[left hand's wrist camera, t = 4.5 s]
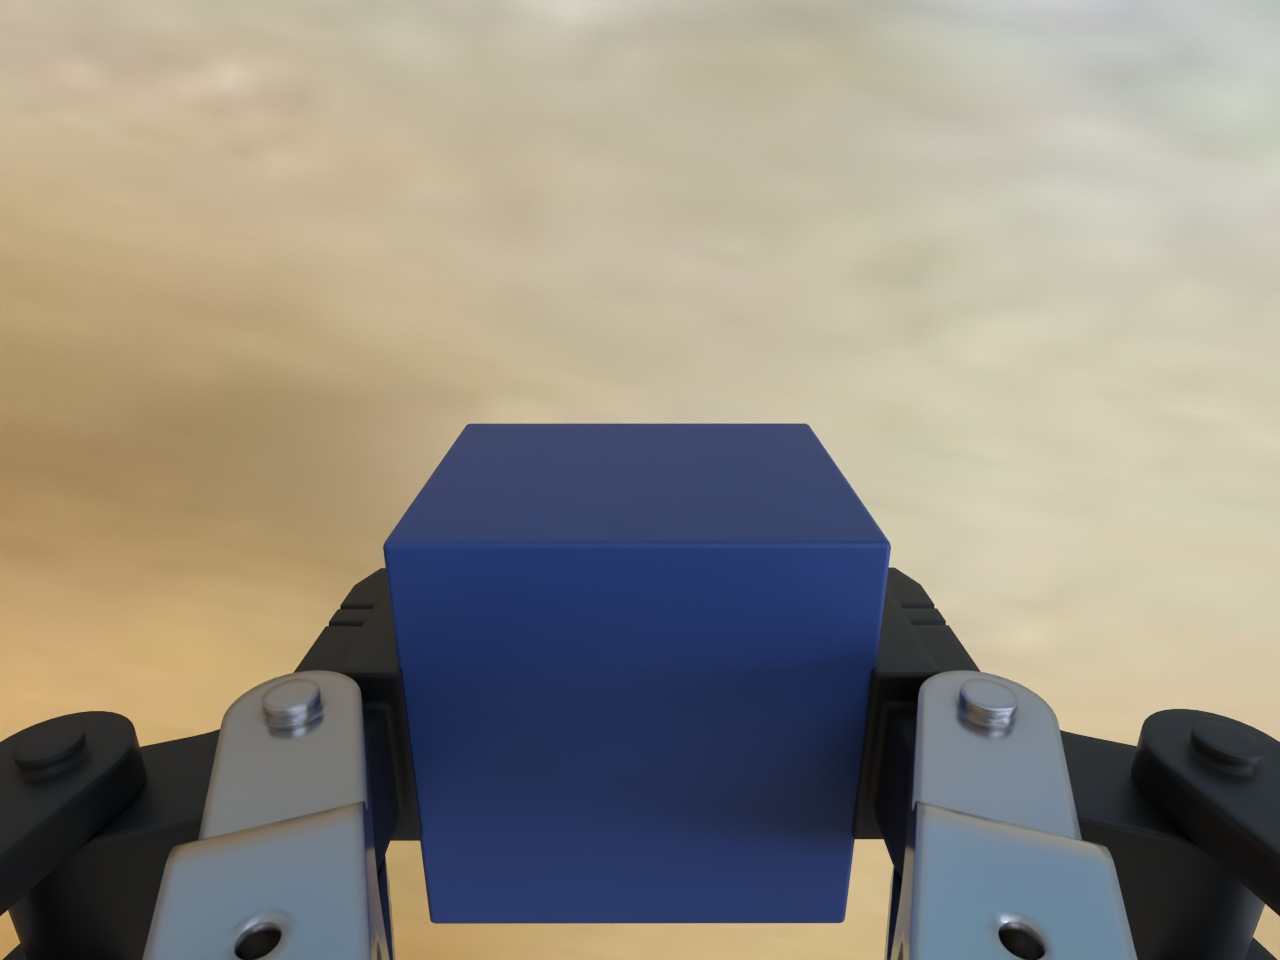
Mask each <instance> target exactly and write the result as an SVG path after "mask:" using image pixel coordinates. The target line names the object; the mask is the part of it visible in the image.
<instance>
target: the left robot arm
mask: <svg viewBox="0 0 1280 960" xmlns="http://www.w3.org/2000/svg"><path fill="white" fill-rule="evenodd" d="M422 836H423V834H422V826H421V818H420V810H419V802H418V794H417V786H416V778H415V770H414V762H413V754H412V746H411V738H410V730H409V722H408V714H407V706H406V698H405V691H404V683H403V675H402V669H401V668H399V667H398V660H397V652H396V644H395V636H394V628H393V620H392V613H391V605H390V597H389V589H388V581H387V573H386V568H381V569H379V570H378V571H376V572H374V573H373V574H371V575H370V576H368V577H367V578H365V579H364V580H362V581H361V582H359V583H358V584H356V585H355V586H354V587H353V588H352V590H351V591H350V593H349V594H348V596H347V597H346V598H345V600H344V601H343V603H342V604H341V609H338V610H337V611H336V613H335V614H334V616H333V617H332V618H331V620H330V621H329V626H326V627H325V628H324V630H323V631H322V633H321V634H320V636H319V637H318V638H317V640H316V641H315V643H314V644H313V646H312V647H311V648H310V650H309V651H308V653H307V654H306V656H305V657H304V659H303V660H302V661H301V663H300V664H299V666H298V667H297V669H296V670H295V671H294V673H292V674H287V675H283V676H280V677H277V678H274V679H271V680H269V681H266V682H264V683H262V684H260V685H258V686H256V687H254V688H252V689H251V690H249V691H247V692H246V693H244V694H243V695H242V696H240V697H239V698H238V699H237V700H236V701H235V702H234V703H233V704H232V705H231V706H230V707H229V708H228V710H227V711H226V713H225V715H224V717H223V720H222V724H221V729H219V730H216V731H213V732H210V733H206V734H201V735H197V736H193V737H188V738H183V739H178V740H173V741H168V742H163V743H158V744H153V745H148V746H143V747H139V743H138V739H137V736H136V732H135V728H134V726H133V724H132V722H131V721H130V720H129V719H128V718H126V717H124V716H122V715H120V714H117V713H113V712H105V711H89V712H80V713H74V714H69V715H64V716H60V717H57V718H53V719H50V720H47V721H44V722H41V723H38V724H36V725H33V726H31V727H28V728H26V729H24V730H22V731H20V732H18V733H16V734H14V735H12V736H10V737H8V738H7V739H5V740H3V741H2V742H0V916H1V915H2V914H3V913H4V912H6V911H7V910H8V911H9V914H10V917H11V919H12V922H13V924H14V927H15V930H16V932H17V935H18V938H19V940H20V944H19V945H18V946H17V947H16V948H15V949H14V950H13V951H11V952H10V953H9V954H8V955H7V956H6V957H5V958H4V959H3V960H396V957H395V945H394V933H393V921H392V909H391V897H390V885H389V878H388V871H387V864H386V858H385V853H386V851H387V848H388V845H389V843H390V841H395V840H421V839H422ZM852 836H853V839H884V841H885V844H886V847H887V849H888V852H889V855H890V857H891V860H892V863H893V871H892V877H891V884H890V896H889V908H888V921H887V933H886V945H885V957H884V960H1277V959H1276V958H1275V957H1274V956H1273V955H1272V954H1271V953H1270V952H1269V951H1267V950H1266V949H1265V948H1264V947H1263V946H1262V945H1261V944H1260V943H1259V942H1258V941H1257V940H1256V939H1254V938H1253V935H1254V932H1255V929H1256V927H1257V924H1258V921H1259V919H1260V916H1261V913H1262V911H1263V908H1264V905H1265V904H1266V905H1267V906H1269V907H1270V908H1271V909H1272V910H1273V911H1274V912H1276V913H1277V914H1278V915H1279V916H1280V742H1279V741H1277V740H1275V739H1274V738H1272V737H1270V736H1269V735H1267V734H1265V733H1263V732H1261V731H1259V730H1257V729H1255V728H1253V727H1251V726H1249V725H1246V724H1244V723H1242V722H1239V721H1236V720H1233V719H1231V718H1228V717H1225V716H1221V715H1217V714H1213V713H1209V712H1204V711H1198V710H1189V709H1170V710H1163V711H1160V712H1156V713H1154V714H1152V715H1150V716H1149V717H1148V718H1147V719H1146V720H1145V721H1144V724H1143V726H1142V730H1141V733H1140V737H1139V741H1138V744H1137V746H1132V745H1127V744H1122V743H1117V742H1112V741H1107V740H1102V739H1097V738H1092V737H1087V736H1082V735H1078V734H1073V733H1069V732H1065V731H1062V730H1060V729H1059V724H1058V720H1057V717H1056V715H1055V713H1054V712H1053V710H1052V708H1051V707H1050V706H1049V705H1048V704H1047V703H1046V702H1045V701H1044V700H1043V699H1042V698H1041V697H1039V696H1038V695H1037V694H1036V693H1034V692H1032V691H1031V690H1029V689H1028V688H1026V687H1024V686H1022V685H1020V684H1018V683H1016V682H1014V681H1011V680H1009V679H1006V678H1003V677H1000V676H997V675H993V674H988V673H984V672H980V670H979V669H978V667H977V666H976V664H975V663H974V662H973V660H972V659H971V657H970V656H969V654H968V653H967V651H966V650H965V648H964V647H963V646H962V644H961V643H960V641H959V640H958V638H957V637H956V635H955V634H954V633H953V631H952V630H951V628H950V627H949V625H946V621H945V619H944V618H943V617H942V615H941V614H940V612H939V611H938V609H935V608H934V603H933V602H932V601H931V599H930V598H929V596H928V595H927V593H926V592H925V590H924V589H923V588H922V586H921V585H920V584H919V583H917V582H916V581H914V580H913V579H911V578H910V577H908V576H906V575H905V574H903V573H902V572H900V571H899V570H897V569H896V568H888V574H887V582H886V590H885V598H884V606H883V614H882V622H881V630H880V638H879V646H878V654H877V663H876V668H872V676H871V685H870V693H869V701H868V709H867V717H866V726H865V734H864V742H863V750H862V758H861V766H860V775H859V783H858V791H857V799H856V807H855V816H854V824H853V832H852Z"/></svg>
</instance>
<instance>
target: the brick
mask: <svg viewBox="0 0 1280 960" xmlns="http://www.w3.org/2000/svg"><path fill="white" fill-rule="evenodd" d="M383 549H384V557H385V565H386V573H387V581H388V589H389V597H390V605H391V613H392V620H393V628H394V636H395V644H396V652H397V660H398V667H399V668H401V669H402V675H403V683H404V691H405V698H406V706H407V714H408V722H409V730H410V738H411V746H412V754H413V762H414V770H415V778H416V786H417V794H418V802H419V810H420V818H421V826H422V834H423V836H422V839H421V840H420V842H421V850H422V858H423V866H424V873H425V881H426V889H427V897H428V905H429V913H430V919H431V922H433V923H841V922H843V921H844V919H845V912H846V904H847V896H848V888H849V880H850V872H851V864H852V856H853V848H854V840H855V839H853V836H852V832H853V824H854V816H855V807H856V799H857V791H858V783H859V775H860V766H861V758H862V750H863V742H864V734H865V726H866V717H867V709H868V701H869V693H870V685H871V676H872V668H876V663H877V654H878V646H879V638H880V630H881V622H882V614H883V606H884V598H885V590H886V582H887V574H888V566H889V558H890V550H891V546H890V543H889V541H888V540H887V538H886V537H885V535H884V534H883V532H882V531H881V529H880V528H879V527H878V525H877V524H876V522H875V521H874V519H873V518H872V516H871V515H870V513H869V512H868V511H867V509H866V508H865V506H864V505H863V503H862V502H861V500H860V499H859V497H858V496H857V495H856V493H855V492H854V490H853V489H852V487H851V486H850V484H849V483H848V482H847V480H846V479H845V477H844V476H843V474H842V473H841V471H840V470H839V468H838V467H837V466H836V464H835V463H834V461H833V460H832V458H831V457H830V455H829V454H828V452H827V451H826V450H825V448H824V447H823V445H822V444H821V442H820V441H819V439H818V438H817V436H816V435H815V434H814V432H813V431H812V429H811V428H810V426H809V425H807V424H468V425H466V427H465V428H464V430H463V431H462V432H461V434H460V435H459V437H458V438H457V440H456V441H455V443H454V444H453V445H452V447H451V448H450V450H449V451H448V453H447V454H446V455H445V457H444V458H443V460H442V461H441V463H440V464H439V465H438V467H437V468H436V470H435V471H434V473H433V474H432V475H431V477H430V478H429V480H428V481H427V483H426V484H425V485H424V487H423V488H422V490H421V491H420V493H419V494H418V496H417V497H416V498H415V500H414V501H413V503H412V504H411V506H410V507H409V508H408V510H407V511H406V513H405V514H404V516H403V517H402V518H401V520H400V521H399V523H398V524H397V526H396V527H395V528H394V530H393V531H392V533H391V534H390V536H389V537H388V538H387V540H386V541H385V543H384V546H383Z"/></svg>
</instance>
